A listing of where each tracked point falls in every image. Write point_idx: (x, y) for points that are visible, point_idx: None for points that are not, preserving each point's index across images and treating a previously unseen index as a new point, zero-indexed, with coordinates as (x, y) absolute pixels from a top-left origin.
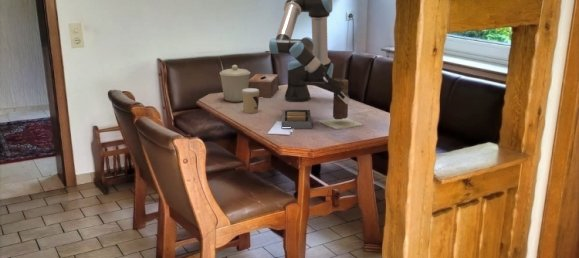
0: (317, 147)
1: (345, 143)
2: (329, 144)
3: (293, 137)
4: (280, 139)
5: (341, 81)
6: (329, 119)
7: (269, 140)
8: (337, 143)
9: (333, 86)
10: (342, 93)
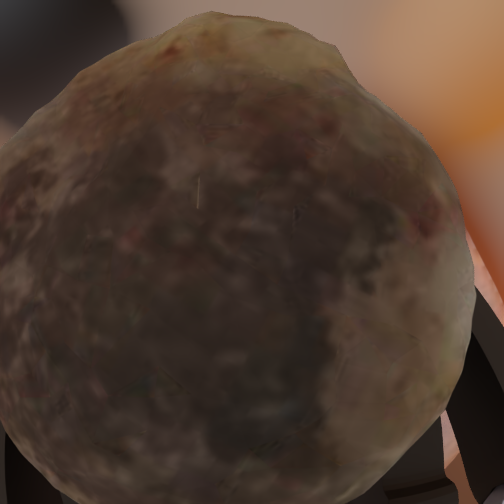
0: (500, 310)
1: (467, 234)
2: (482, 283)
3: (441, 417)
4: (453, 437)
5: (441, 182)
6: None
7: (456, 454)
8: (473, 260)
9: (497, 354)
10: None
